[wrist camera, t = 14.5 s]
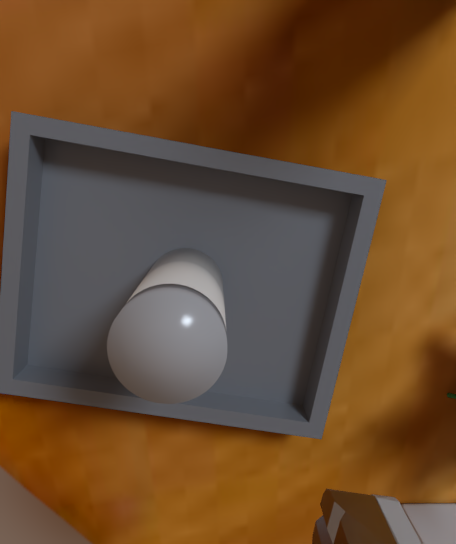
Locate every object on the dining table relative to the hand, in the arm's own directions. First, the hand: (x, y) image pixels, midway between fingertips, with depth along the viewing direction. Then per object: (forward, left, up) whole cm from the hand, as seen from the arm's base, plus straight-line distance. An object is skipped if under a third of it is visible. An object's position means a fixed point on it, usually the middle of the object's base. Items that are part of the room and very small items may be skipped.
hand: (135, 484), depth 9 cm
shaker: (0, 0, -17) cm, 17 cm away
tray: (0, 0, -18) cm, 18 cm away
